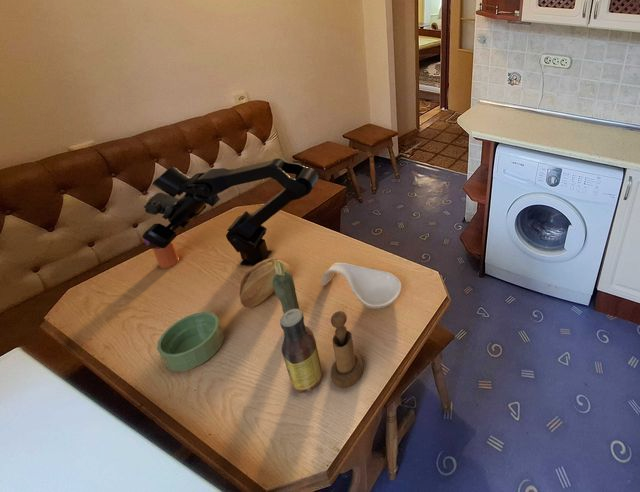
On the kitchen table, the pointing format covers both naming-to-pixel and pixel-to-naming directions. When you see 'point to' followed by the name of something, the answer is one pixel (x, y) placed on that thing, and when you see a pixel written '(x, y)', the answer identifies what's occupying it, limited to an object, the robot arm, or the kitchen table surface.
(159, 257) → the stand
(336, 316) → the mortar and pestle
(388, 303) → the spoon rest
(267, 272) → the bread roll
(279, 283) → the vegetable
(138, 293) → the kitchen table surface
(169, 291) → the kitchen table surface
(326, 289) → the kitchen table surface
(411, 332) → the kitchen table surface
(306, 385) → the sauce bottle
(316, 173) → the robot arm
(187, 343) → the bowl
